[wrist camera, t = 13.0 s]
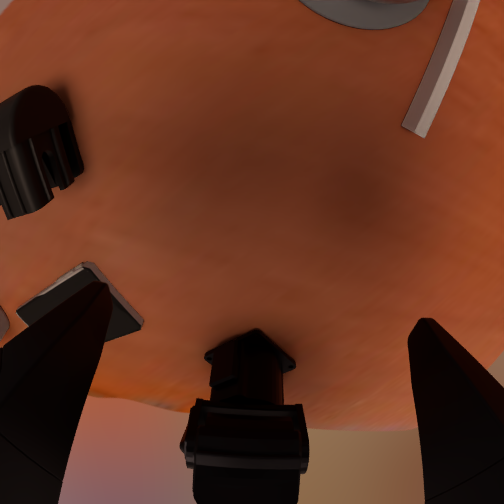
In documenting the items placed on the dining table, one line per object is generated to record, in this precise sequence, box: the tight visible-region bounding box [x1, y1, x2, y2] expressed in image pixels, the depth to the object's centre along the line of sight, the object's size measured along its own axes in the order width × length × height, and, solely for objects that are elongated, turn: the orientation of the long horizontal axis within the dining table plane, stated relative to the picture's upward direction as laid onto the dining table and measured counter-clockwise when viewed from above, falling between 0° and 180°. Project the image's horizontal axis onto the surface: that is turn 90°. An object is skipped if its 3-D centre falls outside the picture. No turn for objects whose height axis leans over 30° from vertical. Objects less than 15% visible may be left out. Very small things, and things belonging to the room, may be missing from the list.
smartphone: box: [16, 261, 144, 342], centre depth 28 cm, size 8×1×15 cm
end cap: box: [0, 85, 84, 220], centre depth 16 cm, size 10×7×7 cm
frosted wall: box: [401, 0, 480, 138], centre depth 12 cm, size 18×1×2 cm, turn 160°
